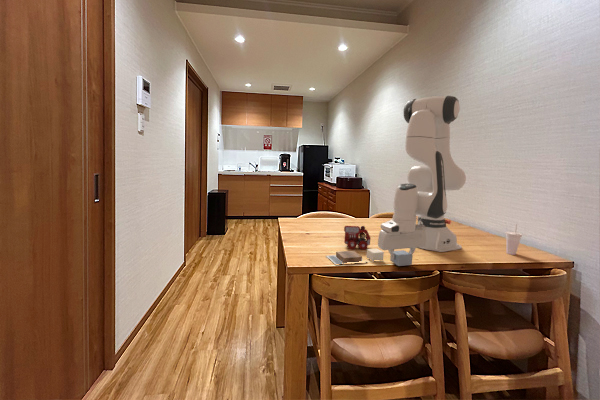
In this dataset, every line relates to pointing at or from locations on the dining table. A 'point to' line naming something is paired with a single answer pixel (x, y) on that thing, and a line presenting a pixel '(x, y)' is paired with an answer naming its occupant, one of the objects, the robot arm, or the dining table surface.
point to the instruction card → (334, 259)
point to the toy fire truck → (356, 237)
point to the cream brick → (375, 254)
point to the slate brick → (402, 258)
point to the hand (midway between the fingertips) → (401, 258)
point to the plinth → (348, 256)
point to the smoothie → (512, 241)
